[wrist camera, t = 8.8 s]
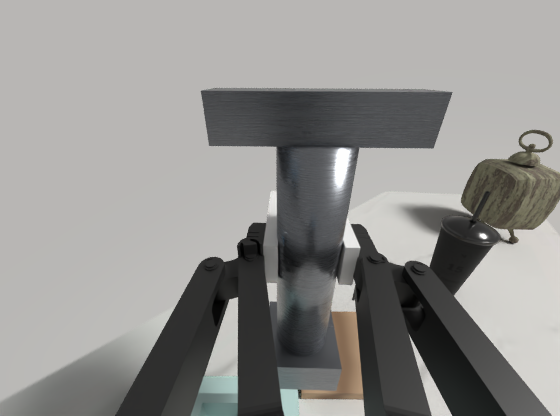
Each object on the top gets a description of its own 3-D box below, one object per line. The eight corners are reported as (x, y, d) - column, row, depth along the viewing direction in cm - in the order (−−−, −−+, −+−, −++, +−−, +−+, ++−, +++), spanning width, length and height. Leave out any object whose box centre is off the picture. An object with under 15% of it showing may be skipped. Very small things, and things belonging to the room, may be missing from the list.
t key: (238, 387, 17) (184, 93, 7) (248, 322, 21) (223, 86, 11) (364, 391, 16) (483, 95, 7) (348, 325, 21) (407, 87, 11)
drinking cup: (413, 268, 48) (450, 179, 38) (455, 276, 46) (506, 185, 36) (421, 298, 41) (468, 200, 31) (470, 309, 39) (537, 208, 29)
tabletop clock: (526, 248, 54) (602, 139, 41) (487, 247, 54) (551, 138, 41) (481, 215, 66) (529, 124, 54) (449, 214, 66) (489, 123, 54)
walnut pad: (301, 398, 28) (301, 393, 28) (296, 317, 38) (296, 311, 37) (390, 399, 28) (393, 393, 28) (362, 317, 38) (364, 311, 37)
